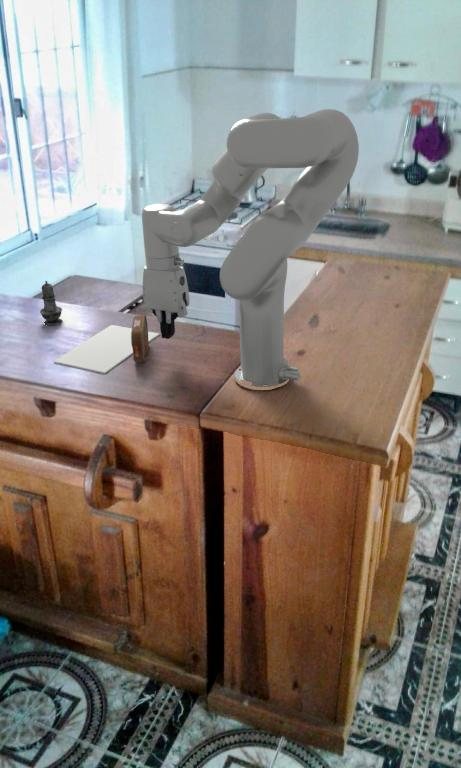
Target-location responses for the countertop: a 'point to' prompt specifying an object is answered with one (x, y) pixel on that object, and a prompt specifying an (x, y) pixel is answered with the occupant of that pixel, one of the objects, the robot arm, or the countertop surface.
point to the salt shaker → (50, 306)
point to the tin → (139, 338)
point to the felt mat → (102, 350)
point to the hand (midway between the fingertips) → (168, 336)
